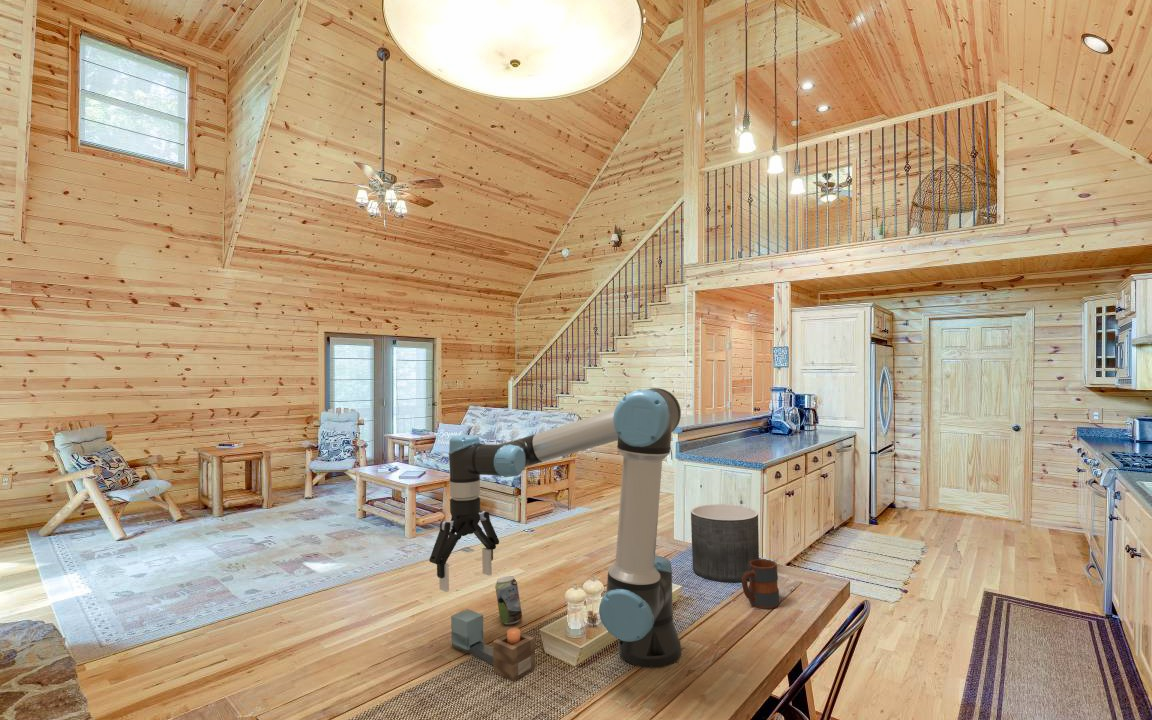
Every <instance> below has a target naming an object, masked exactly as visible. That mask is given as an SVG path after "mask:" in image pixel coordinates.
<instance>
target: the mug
mask: <svg viewBox="0 0 1152 720" xmlns="http://www.w3.org/2000/svg"><path fill="white" fill-rule="evenodd" d="M748 577H749V580H748V581H749V586H748V581H747V578H748ZM778 580H779V575H778V565H777V564H776V562H774V561H773V560H768V559H761V558H759V559H757V560H752V561H750V563H749V571H748V572H745V573H744V574H743V576H742V582H741V587H742V590H743V593H744V595H745V597H746V598H747V599H748V601H749V603H750V605H751V606H753V607H755V608H759V609H764V610H771V609H775V608H777V607H778V606H779V604H780V590H779V587H778V586H779V585H778Z"/></svg>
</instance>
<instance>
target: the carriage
mask: <svg viewBox="0 0 1152 720" xmlns="http://www.w3.org/2000/svg"><path fill="white" fill-rule="evenodd" d="M450 617H451V618H450V619H451V622H450V623H451V624H450V625H451V628H450V629H451V632H452V637H451V645H452V644H454V645H457V646H459V647H461V648H463V649H465V650H469V649H470V645H472V644H474V643H476V642H481V643H485V642H484V641H485V640H484V615H483V614H482V613H479V612H477V611H474V610H471V609H468V608H466V609H465V610H462V611H459V612H457V613H455V614H452V615H451V616H450Z"/></svg>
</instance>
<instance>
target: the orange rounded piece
mask: <svg viewBox="0 0 1152 720" xmlns="http://www.w3.org/2000/svg"><path fill="white" fill-rule="evenodd" d="M520 633H521V630H520V628H518V627H513V628H512V627H511V628H509V629H507V631H506V635H507V644H510V645H512V646H513V645H514V644H516V643H518V642H520Z"/></svg>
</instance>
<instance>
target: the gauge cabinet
mask: <svg viewBox="0 0 1152 720" xmlns="http://www.w3.org/2000/svg"><path fill="white" fill-rule="evenodd" d="M492 647H493V665H492V666H493V673H494V674H498V675H499V676H502V677H504V678H506V679H507V680H510V681H512V682H514V681H516V680H518V679H519V678H521V677H523V676H525V675H526V674H528V673H530V672H532V671H533V670H534V669H536V656H535V655H536V652H535V651H536V650H535V647H536V646H535V637H533V636H530V635H528V634H526V633H523V632H520V642H518V643H516V644H514V645H513V646H512V645H510V644H507V634H505V635H503V636H501V637H499V638H497V639H494V640H493V641H492Z"/></svg>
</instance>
